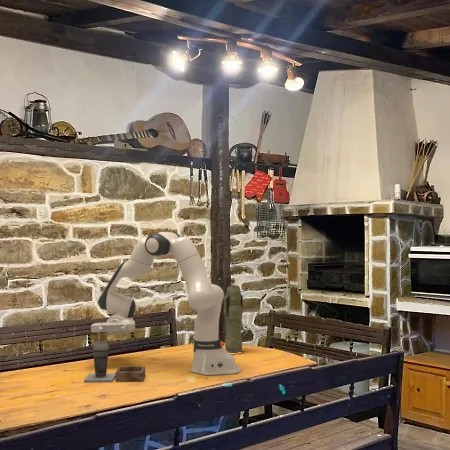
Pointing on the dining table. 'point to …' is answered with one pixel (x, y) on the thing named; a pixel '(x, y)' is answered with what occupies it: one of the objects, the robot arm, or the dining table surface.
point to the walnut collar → (130, 374)
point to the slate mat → (92, 378)
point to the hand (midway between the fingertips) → (111, 329)
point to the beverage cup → (100, 357)
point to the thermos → (233, 319)
